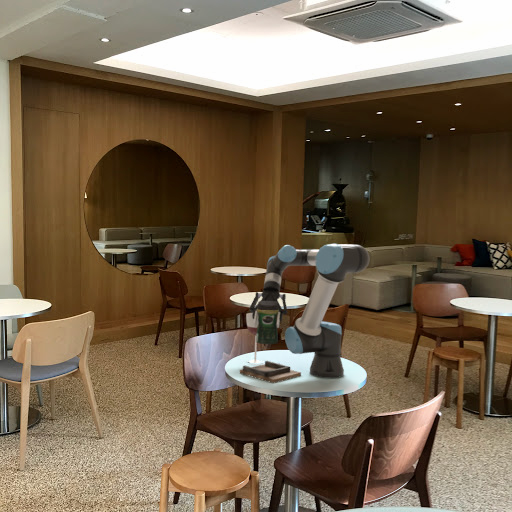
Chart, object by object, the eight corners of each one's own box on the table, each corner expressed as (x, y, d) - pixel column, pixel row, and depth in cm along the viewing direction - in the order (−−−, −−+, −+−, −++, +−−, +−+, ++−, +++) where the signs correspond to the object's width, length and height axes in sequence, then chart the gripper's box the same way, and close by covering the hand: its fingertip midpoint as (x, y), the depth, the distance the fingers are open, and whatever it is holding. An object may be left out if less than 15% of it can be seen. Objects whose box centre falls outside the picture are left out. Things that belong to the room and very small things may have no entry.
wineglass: (265, 364, 266) (267, 316, 265) (244, 363, 266) (246, 315, 265) (265, 360, 275) (267, 313, 274) (245, 359, 275) (246, 312, 274)
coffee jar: (276, 341, 253) (278, 300, 252) (278, 345, 245) (279, 302, 244) (255, 340, 253) (256, 299, 252) (255, 344, 245) (257, 301, 244)
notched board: (300, 375, 248) (301, 368, 248) (273, 383, 235) (273, 374, 235) (267, 366, 262) (267, 359, 262) (239, 373, 249) (240, 365, 249)
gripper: (296, 291, 261) (291, 331, 246) (249, 289, 265) (242, 328, 250) (295, 281, 256) (291, 321, 241) (247, 278, 259) (240, 318, 244)
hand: (266, 325), depth 245 cm, fingers closed on coffee jar, 9 cm apart
